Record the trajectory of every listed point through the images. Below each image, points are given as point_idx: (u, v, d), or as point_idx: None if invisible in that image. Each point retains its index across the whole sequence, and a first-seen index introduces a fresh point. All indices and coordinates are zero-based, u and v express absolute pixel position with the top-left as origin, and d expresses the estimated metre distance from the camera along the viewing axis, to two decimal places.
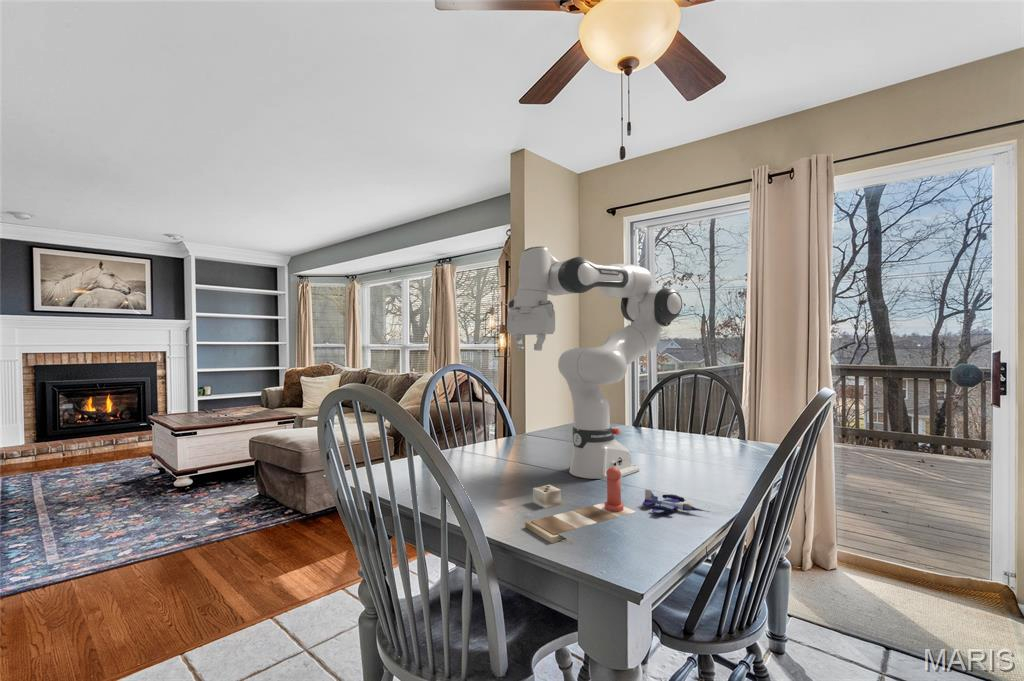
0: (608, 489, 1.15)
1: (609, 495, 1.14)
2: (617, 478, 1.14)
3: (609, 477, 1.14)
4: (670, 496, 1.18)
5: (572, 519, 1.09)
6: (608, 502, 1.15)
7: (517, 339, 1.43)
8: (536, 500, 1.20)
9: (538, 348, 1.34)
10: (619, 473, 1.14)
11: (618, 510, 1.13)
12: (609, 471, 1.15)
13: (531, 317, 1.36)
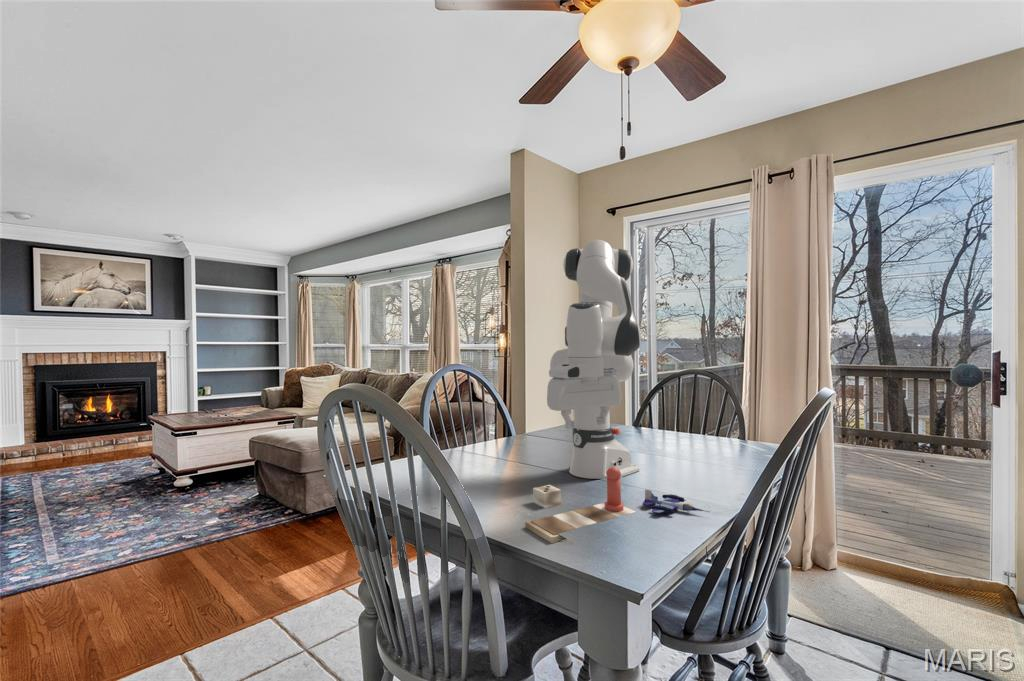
0: (608, 489, 1.15)
1: (609, 495, 1.14)
2: (617, 478, 1.14)
3: (609, 477, 1.14)
4: (670, 496, 1.18)
5: (572, 519, 1.09)
6: (608, 502, 1.15)
7: None
8: (536, 500, 1.20)
9: None
10: (619, 473, 1.14)
11: (618, 510, 1.13)
12: (609, 471, 1.15)
13: (598, 388, 1.17)
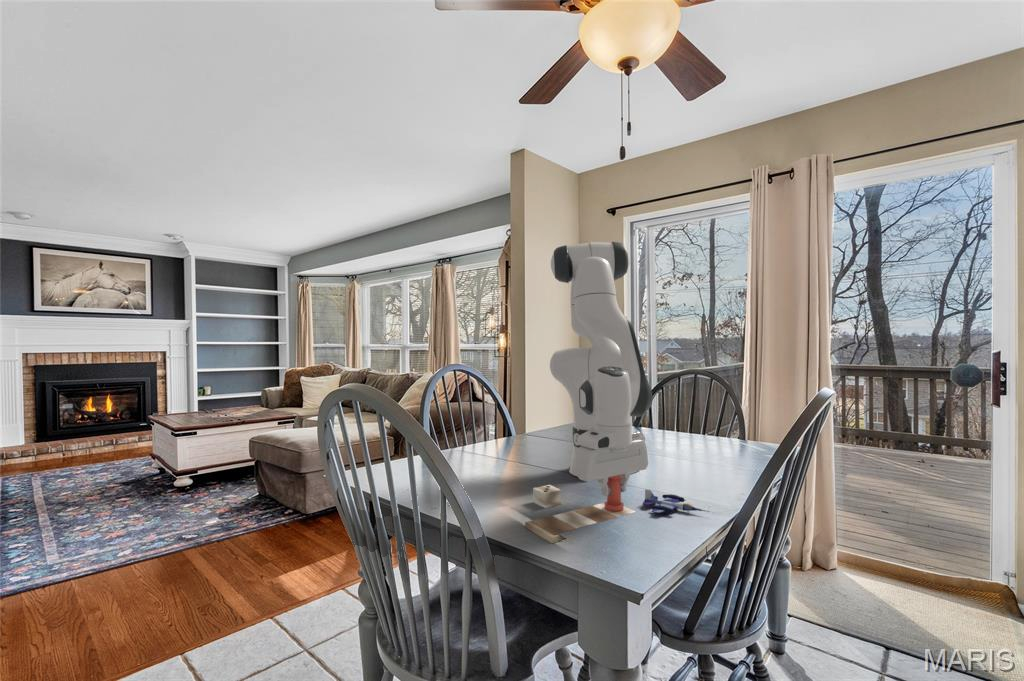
0: None
1: (609, 495, 1.14)
2: (617, 478, 1.14)
3: (609, 477, 1.14)
4: (670, 496, 1.18)
5: (572, 519, 1.09)
6: (608, 502, 1.15)
7: None
8: (536, 500, 1.20)
9: None
10: None
11: (618, 510, 1.13)
12: None
13: (626, 454, 1.15)
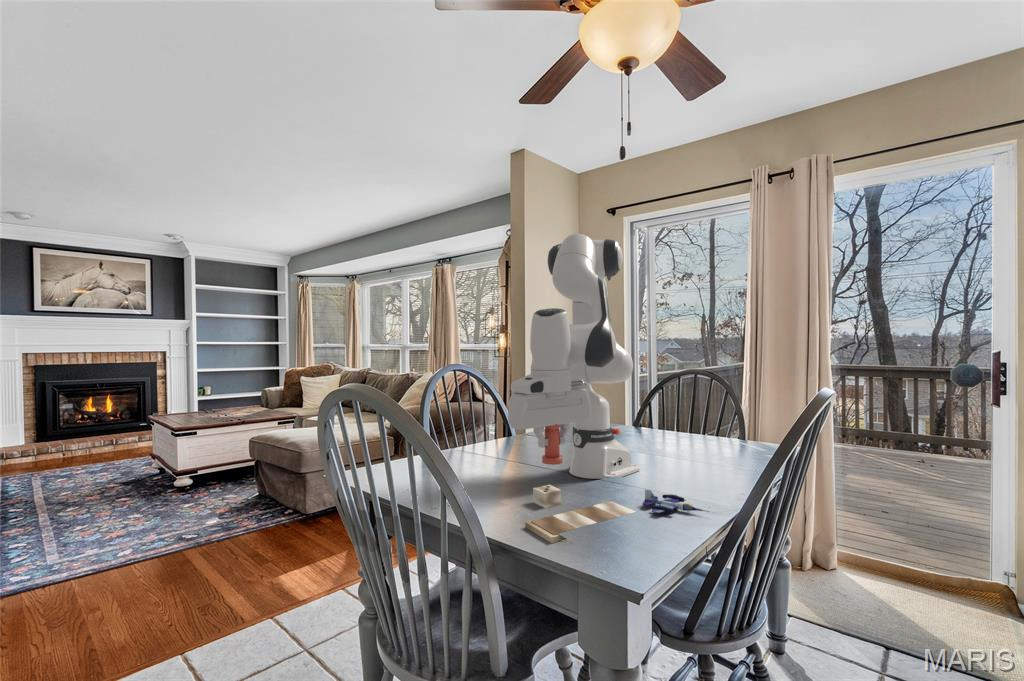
0: None
1: None
2: (554, 428, 1.04)
3: (546, 427, 1.05)
4: (670, 496, 1.18)
5: (572, 519, 1.09)
6: (545, 455, 1.05)
7: None
8: (536, 500, 1.20)
9: None
10: None
11: (555, 463, 1.04)
12: None
13: (565, 403, 1.06)
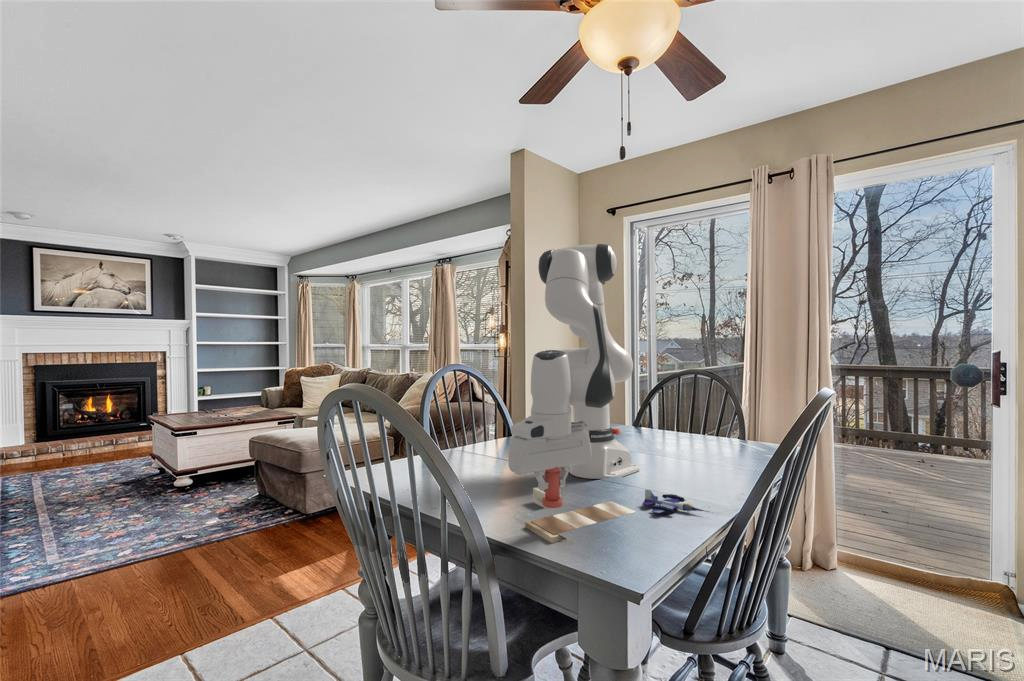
0: None
1: None
2: (554, 471, 1.04)
3: (546, 470, 1.05)
4: (670, 496, 1.18)
5: (572, 519, 1.09)
6: (545, 497, 1.05)
7: None
8: (536, 500, 1.20)
9: None
10: None
11: (555, 506, 1.04)
12: None
13: (565, 445, 1.06)
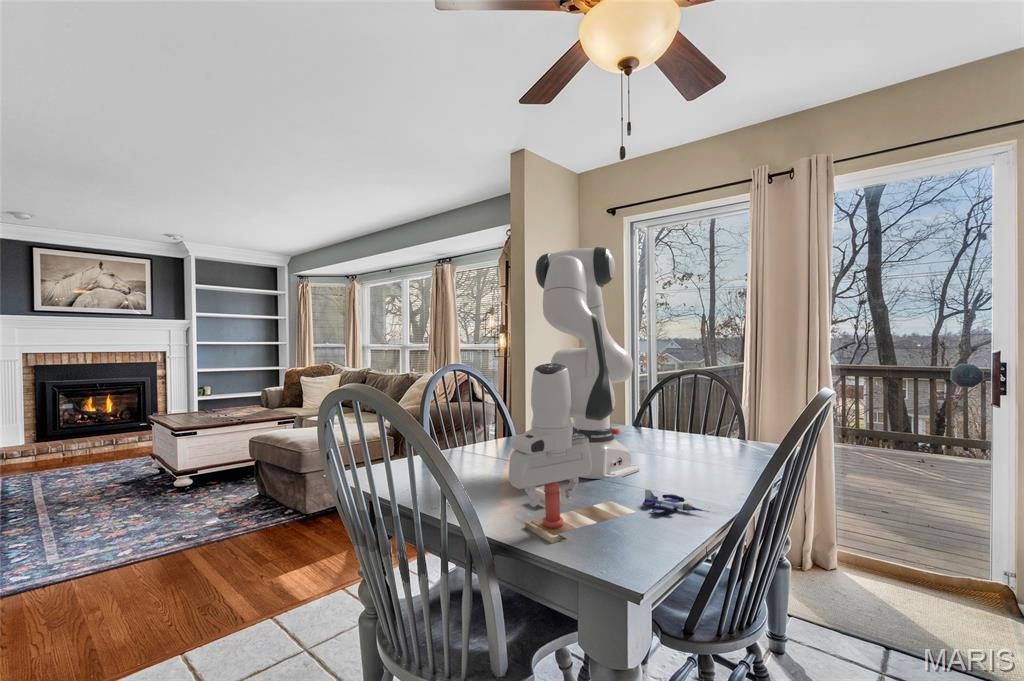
0: (546, 503, 1.05)
1: (547, 510, 1.05)
2: (554, 492, 1.04)
3: (546, 490, 1.05)
4: (670, 496, 1.18)
5: (572, 519, 1.09)
6: (546, 518, 1.05)
7: None
8: None
9: None
10: (557, 486, 1.05)
11: (556, 526, 1.04)
12: (546, 484, 1.05)
13: (566, 459, 1.06)
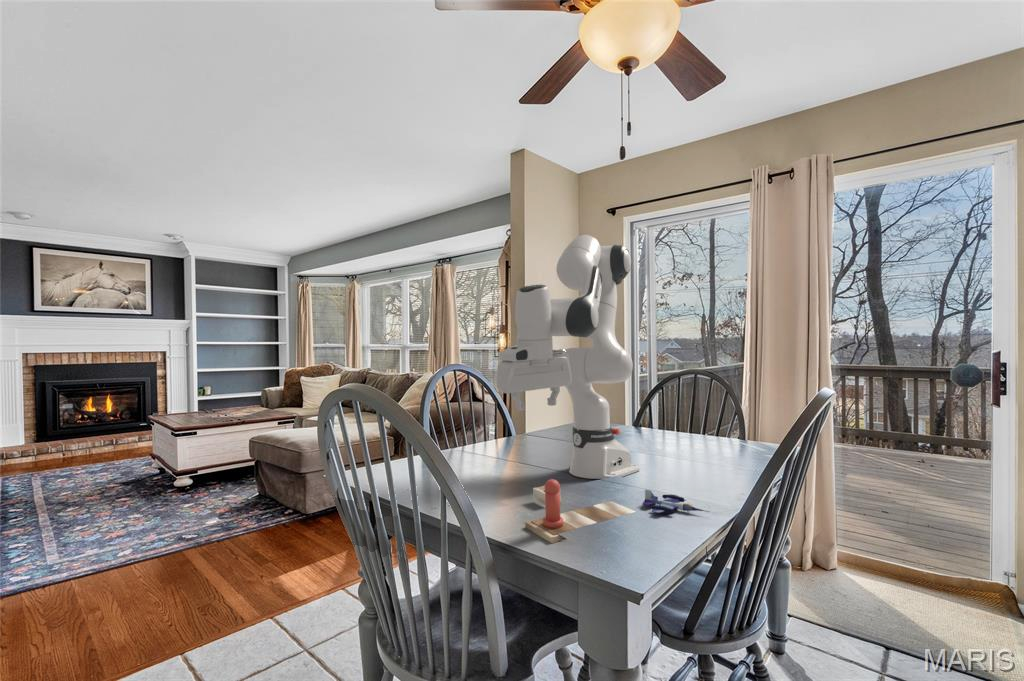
0: (546, 504, 1.05)
1: (547, 510, 1.05)
2: (555, 492, 1.04)
3: (547, 491, 1.05)
4: (670, 496, 1.18)
5: (572, 519, 1.09)
6: (546, 518, 1.05)
7: None
8: (536, 500, 1.20)
9: None
10: (557, 486, 1.05)
11: (556, 527, 1.04)
12: (547, 484, 1.05)
13: (547, 369, 1.18)
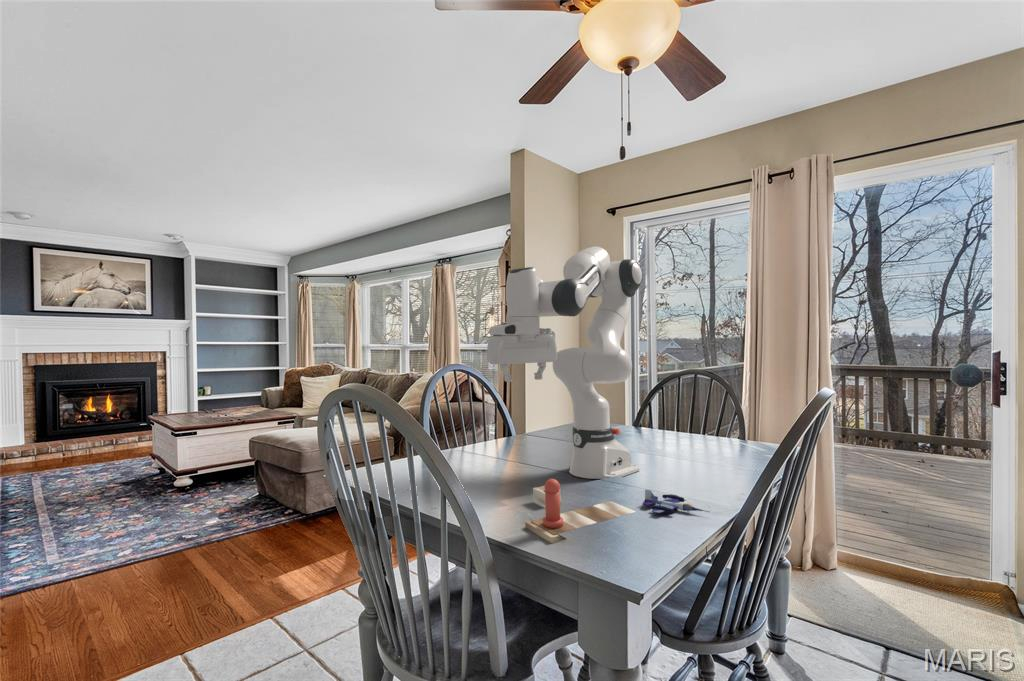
0: (546, 503, 1.05)
1: (547, 509, 1.05)
2: (554, 491, 1.05)
3: (546, 490, 1.05)
4: (670, 496, 1.18)
5: (572, 519, 1.09)
6: (546, 517, 1.05)
7: None
8: (536, 500, 1.20)
9: None
10: (557, 486, 1.05)
11: (556, 526, 1.04)
12: (547, 483, 1.05)
13: (534, 345, 1.28)
